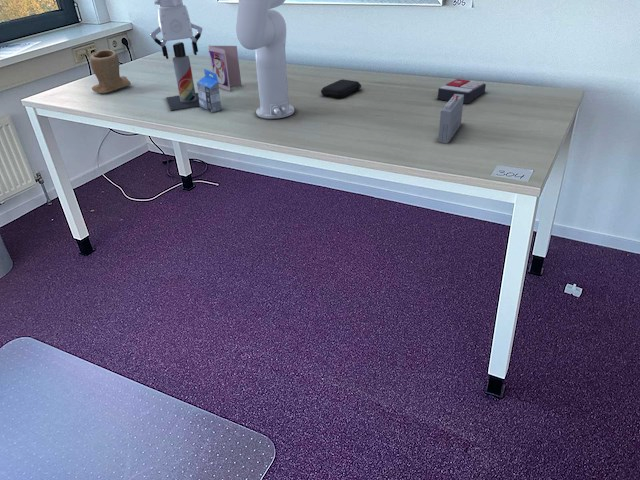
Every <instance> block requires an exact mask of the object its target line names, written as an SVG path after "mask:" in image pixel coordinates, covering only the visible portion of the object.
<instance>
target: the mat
mask: <svg viewBox="0 0 640 480" xmlns="http://www.w3.org/2000/svg"><path fill="white" fill-rule="evenodd" d="M195 94H196V100H195V101H193V102H189V103H183V102H181V101H180V96H179V95H173V96H167V97H166V100H167V103H168V105H169V108H170V112H173V111H181V110H182V111H183V110H188V109H194V108H202V107H201V106H200V104H199V96H198V92H195Z"/></svg>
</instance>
